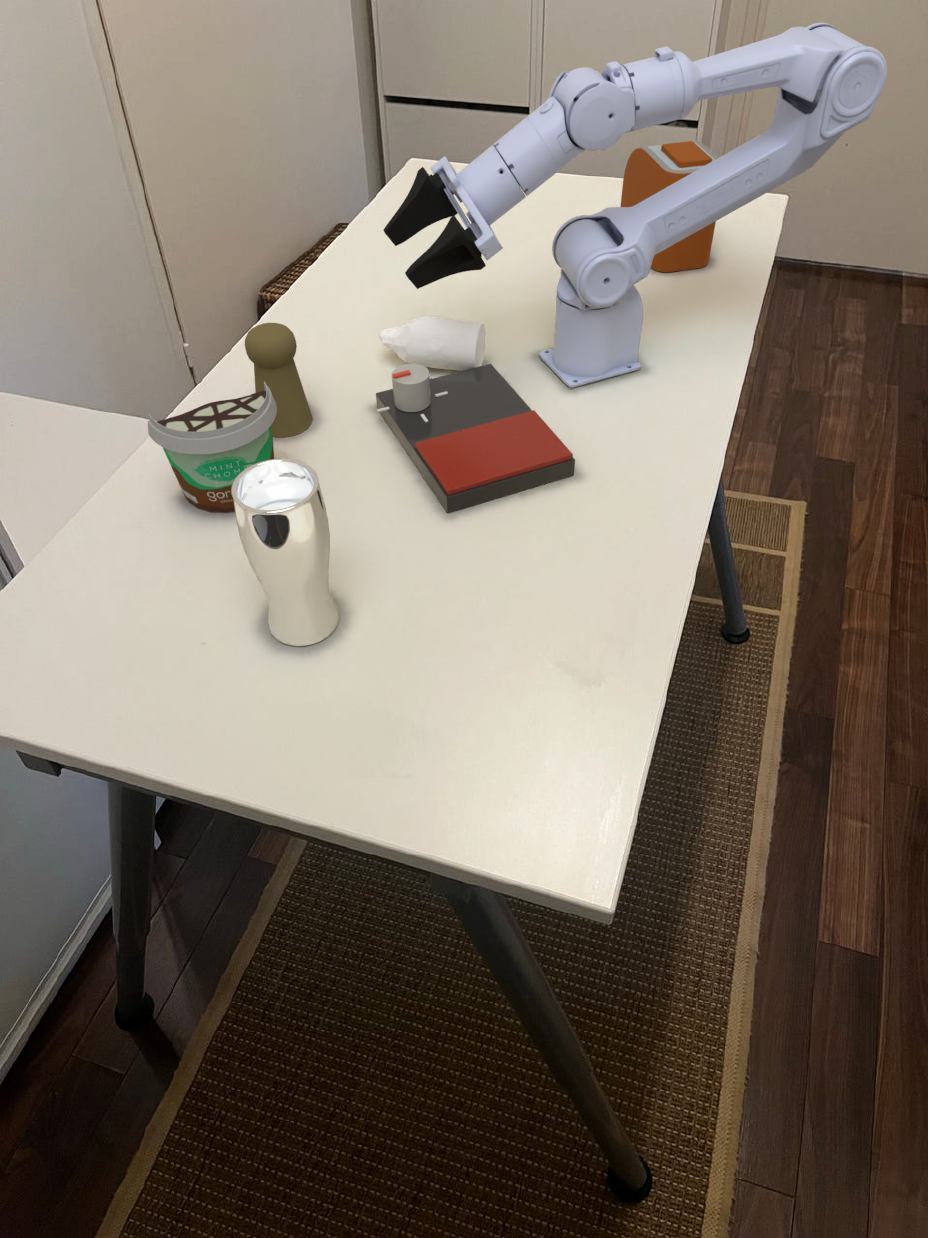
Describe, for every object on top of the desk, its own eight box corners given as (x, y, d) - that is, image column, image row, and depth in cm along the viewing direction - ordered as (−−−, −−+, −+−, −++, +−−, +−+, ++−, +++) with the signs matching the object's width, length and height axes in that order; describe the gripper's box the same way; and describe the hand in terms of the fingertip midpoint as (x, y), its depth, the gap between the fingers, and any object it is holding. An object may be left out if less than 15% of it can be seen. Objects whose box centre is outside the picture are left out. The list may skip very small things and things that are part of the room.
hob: (488, 375, 107) (488, 359, 105) (574, 475, 94) (575, 458, 92) (365, 407, 103) (363, 391, 101) (437, 516, 90) (436, 499, 88)
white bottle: (389, 345, 112) (385, 301, 108) (486, 355, 110) (486, 311, 106) (375, 371, 108) (370, 327, 104) (475, 382, 106) (474, 338, 102)
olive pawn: (302, 440, 99) (286, 347, 91) (249, 434, 100) (228, 342, 92) (319, 408, 103) (305, 317, 95) (268, 403, 104) (250, 312, 96)
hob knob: (422, 388, 102) (420, 357, 99) (436, 406, 99) (435, 375, 96) (388, 397, 101) (385, 366, 98) (401, 416, 98) (399, 384, 95)
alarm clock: (715, 266, 124) (734, 161, 115) (655, 274, 123) (670, 168, 113) (673, 221, 134) (687, 120, 125) (617, 227, 133) (627, 126, 123)
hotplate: (534, 414, 98) (534, 409, 98) (572, 459, 92) (573, 454, 92) (414, 447, 94) (414, 442, 94) (447, 495, 89) (447, 490, 88)
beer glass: (310, 662, 77) (280, 525, 66) (247, 631, 80) (208, 494, 69) (360, 610, 81) (339, 474, 70) (298, 582, 84) (269, 446, 73)
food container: (186, 536, 89) (159, 450, 81) (169, 500, 92) (142, 415, 85) (307, 496, 92) (292, 411, 85) (286, 463, 96) (269, 379, 89)
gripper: (464, 102, 91) (358, 192, 95) (517, 180, 83) (399, 275, 87) (498, 155, 97) (396, 238, 100) (550, 233, 89) (437, 320, 93)
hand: (399, 259), depth 94 cm, fingers open, 7 cm apart
